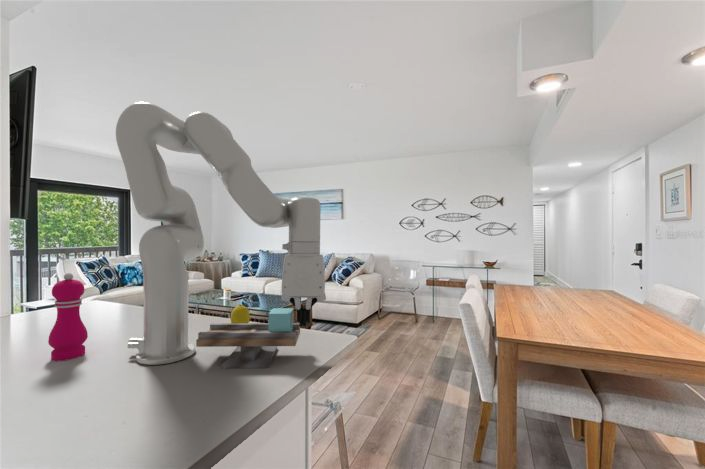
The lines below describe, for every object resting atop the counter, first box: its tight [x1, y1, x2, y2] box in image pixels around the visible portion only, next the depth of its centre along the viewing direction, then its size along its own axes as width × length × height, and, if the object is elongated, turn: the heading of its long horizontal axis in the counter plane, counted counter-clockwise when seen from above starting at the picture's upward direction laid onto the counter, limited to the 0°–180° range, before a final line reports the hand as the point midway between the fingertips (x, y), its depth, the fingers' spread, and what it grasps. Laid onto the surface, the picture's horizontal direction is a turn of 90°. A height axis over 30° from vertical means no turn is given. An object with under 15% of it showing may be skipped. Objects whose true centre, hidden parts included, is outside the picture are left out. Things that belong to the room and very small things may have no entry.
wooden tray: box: [195, 322, 301, 369], centre depth 81 cm, size 22×12×7 cm, turn 93°
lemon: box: [230, 303, 251, 323], centre depth 102 cm, size 6×6×8 cm
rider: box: [268, 307, 294, 332], centre depth 81 cm, size 5×5×5 cm
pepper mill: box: [47, 272, 89, 362], centre depth 80 cm, size 7×7×20 cm
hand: (303, 324), depth 81 cm, fingers closed
